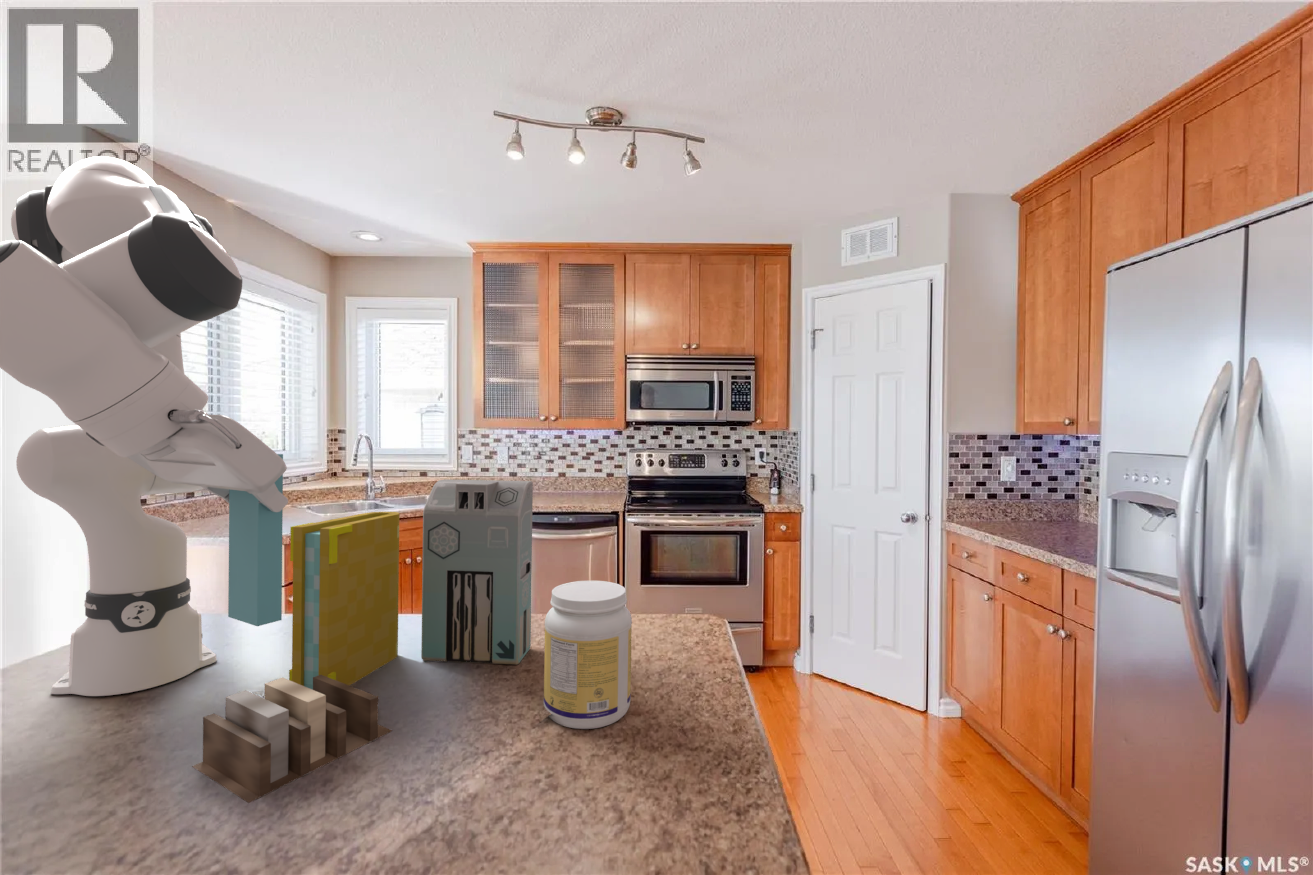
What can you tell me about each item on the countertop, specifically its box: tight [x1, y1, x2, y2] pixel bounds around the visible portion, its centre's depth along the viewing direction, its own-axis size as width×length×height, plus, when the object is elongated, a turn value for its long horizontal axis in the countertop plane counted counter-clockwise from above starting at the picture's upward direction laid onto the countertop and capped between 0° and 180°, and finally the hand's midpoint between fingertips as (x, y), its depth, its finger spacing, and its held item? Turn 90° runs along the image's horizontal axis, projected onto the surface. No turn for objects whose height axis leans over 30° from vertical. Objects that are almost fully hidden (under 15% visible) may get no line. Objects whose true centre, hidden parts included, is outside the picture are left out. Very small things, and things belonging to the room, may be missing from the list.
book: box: [288, 511, 400, 690], centre depth 87 cm, size 17×7×25 cm, turn 168°
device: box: [420, 478, 534, 666], centre depth 98 cm, size 16×8×30 cm, turn 87°
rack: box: [191, 675, 393, 804], centre depth 66 cm, size 12×16×6 cm
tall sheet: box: [227, 453, 284, 627], centre depth 62 cm, size 6×2×18 cm, turn 61°
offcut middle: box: [263, 676, 326, 764], centre depth 66 cm, size 9×2×7 cm, turn 61°
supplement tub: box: [543, 580, 633, 730], centre depth 79 cm, size 12×12×17 cm
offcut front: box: [224, 689, 289, 783], centre depth 62 cm, size 9×2×7 cm, turn 61°
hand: (261, 504), depth 63 cm, fingers closed on tall sheet, 6 cm apart
